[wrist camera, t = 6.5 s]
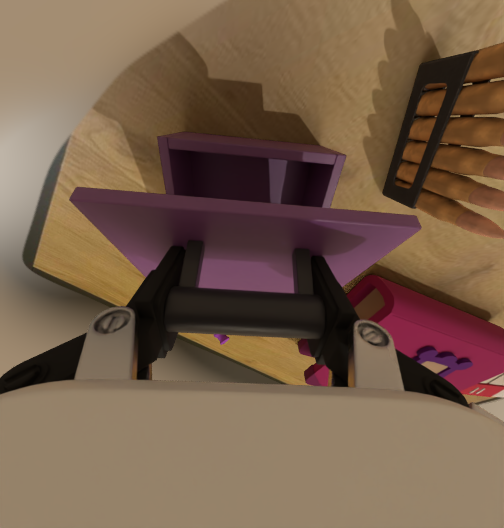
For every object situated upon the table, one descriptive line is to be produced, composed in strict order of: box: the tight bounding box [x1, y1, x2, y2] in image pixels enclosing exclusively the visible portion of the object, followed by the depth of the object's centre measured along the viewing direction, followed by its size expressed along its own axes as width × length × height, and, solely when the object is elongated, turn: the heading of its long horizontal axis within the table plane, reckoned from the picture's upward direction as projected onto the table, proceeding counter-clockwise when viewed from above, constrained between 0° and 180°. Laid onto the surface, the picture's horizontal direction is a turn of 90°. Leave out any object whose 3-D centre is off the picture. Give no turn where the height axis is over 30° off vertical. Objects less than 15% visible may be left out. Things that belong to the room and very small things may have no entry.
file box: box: [157, 132, 346, 208], centre depth 22 cm, size 17×13×7 cm
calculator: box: [460, 373, 504, 397], centre depth 43 cm, size 11×4×15 cm
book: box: [298, 275, 504, 391], centre depth 35 cm, size 21×28×8 cm
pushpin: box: [214, 334, 229, 345], centre depth 35 cm, size 2×3×3 cm
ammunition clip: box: [383, 42, 504, 238], centre depth 15 cm, size 11×2×12 cm, turn 5°
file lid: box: [69, 187, 421, 339], centre depth 15 cm, size 18×13×5 cm
